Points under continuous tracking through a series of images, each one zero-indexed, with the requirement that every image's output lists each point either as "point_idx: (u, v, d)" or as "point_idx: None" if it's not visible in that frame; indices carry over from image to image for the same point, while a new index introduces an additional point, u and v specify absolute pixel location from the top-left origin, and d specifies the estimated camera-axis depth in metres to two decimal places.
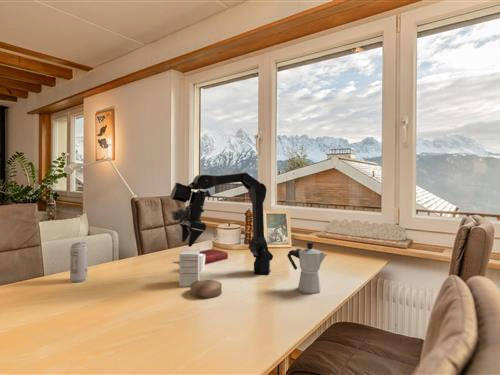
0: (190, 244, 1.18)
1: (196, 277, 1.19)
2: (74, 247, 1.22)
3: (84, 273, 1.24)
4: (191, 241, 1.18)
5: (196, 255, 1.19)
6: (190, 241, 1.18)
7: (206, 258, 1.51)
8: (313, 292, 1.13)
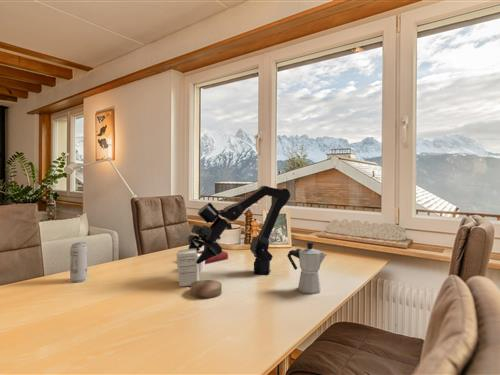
0: (199, 261, 1.19)
1: (195, 275, 1.19)
2: (74, 247, 1.22)
3: (84, 273, 1.24)
4: (201, 258, 1.20)
5: (193, 254, 1.19)
6: (200, 259, 1.19)
7: None
8: (313, 292, 1.13)
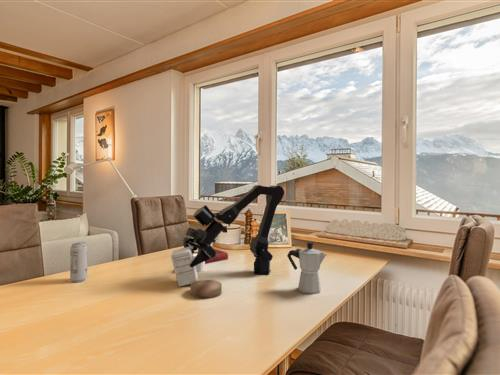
0: (192, 265, 1.18)
1: (193, 273, 1.19)
2: (74, 247, 1.22)
3: (84, 273, 1.24)
4: (195, 262, 1.19)
5: (188, 252, 1.18)
6: (194, 262, 1.18)
7: None
8: (313, 292, 1.13)
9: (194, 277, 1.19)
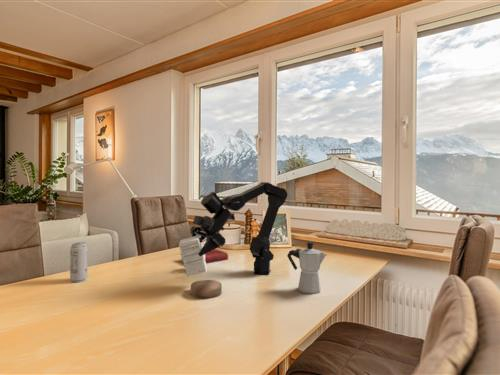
0: (201, 253, 1.14)
1: (202, 263, 1.15)
2: (74, 247, 1.22)
3: (84, 273, 1.24)
4: (203, 250, 1.14)
5: (196, 241, 1.14)
6: (202, 251, 1.14)
7: None
8: (313, 292, 1.13)
9: (203, 266, 1.15)
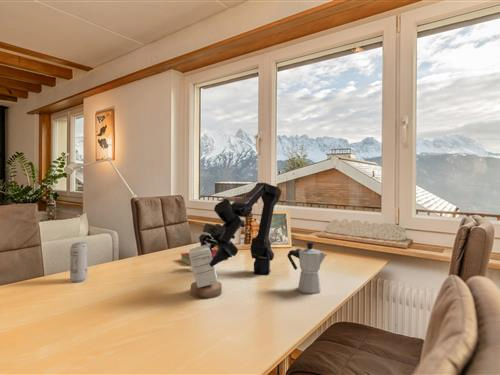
0: (212, 264, 1.08)
1: (213, 273, 1.09)
2: (74, 247, 1.22)
3: (84, 273, 1.24)
4: (215, 260, 1.09)
5: (207, 250, 1.08)
6: (214, 261, 1.08)
7: None
8: (313, 292, 1.13)
9: (214, 277, 1.09)
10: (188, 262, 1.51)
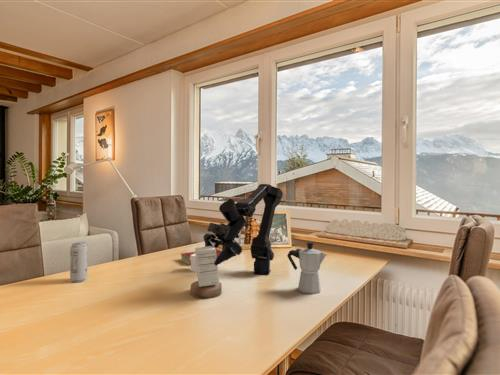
0: (217, 263, 1.09)
1: (216, 274, 1.10)
2: (74, 246, 1.22)
3: (84, 273, 1.24)
4: (219, 259, 1.10)
5: (213, 250, 1.10)
6: (218, 260, 1.09)
7: None
8: (313, 292, 1.13)
9: (217, 278, 1.10)
10: (187, 262, 1.51)
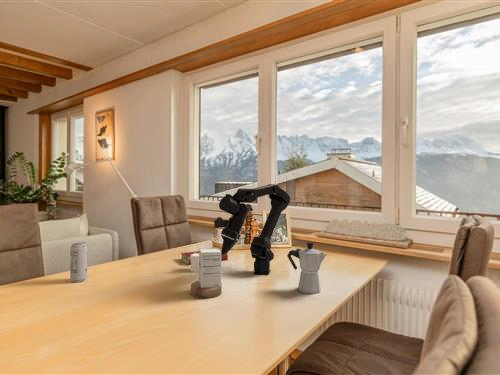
0: (222, 252, 1.20)
1: (219, 277, 1.10)
2: (74, 247, 1.22)
3: (84, 273, 1.24)
4: (223, 249, 1.20)
5: (219, 253, 1.10)
6: (222, 249, 1.20)
7: None
8: (313, 292, 1.13)
9: (219, 281, 1.10)
10: (186, 261, 1.52)
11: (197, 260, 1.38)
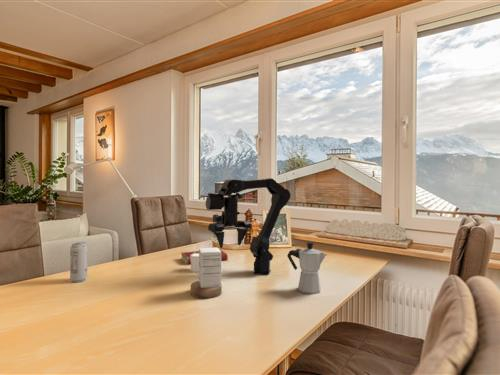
0: (220, 245, 1.28)
1: (219, 277, 1.10)
2: (74, 247, 1.22)
3: (84, 273, 1.24)
4: (219, 242, 1.28)
5: (219, 253, 1.10)
6: (219, 243, 1.28)
7: None
8: (313, 292, 1.13)
9: (219, 281, 1.10)
10: (186, 261, 1.52)
11: (197, 260, 1.38)
